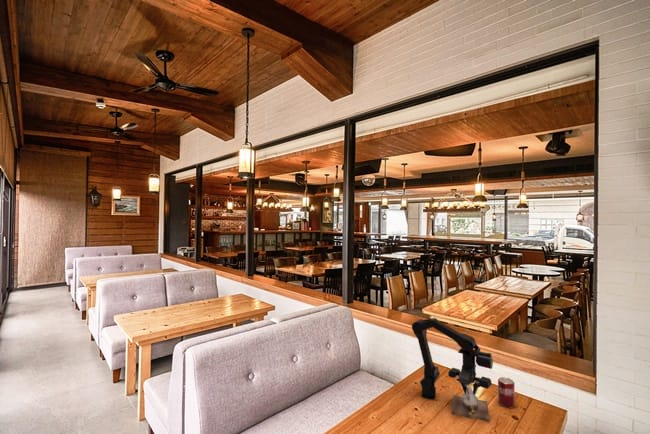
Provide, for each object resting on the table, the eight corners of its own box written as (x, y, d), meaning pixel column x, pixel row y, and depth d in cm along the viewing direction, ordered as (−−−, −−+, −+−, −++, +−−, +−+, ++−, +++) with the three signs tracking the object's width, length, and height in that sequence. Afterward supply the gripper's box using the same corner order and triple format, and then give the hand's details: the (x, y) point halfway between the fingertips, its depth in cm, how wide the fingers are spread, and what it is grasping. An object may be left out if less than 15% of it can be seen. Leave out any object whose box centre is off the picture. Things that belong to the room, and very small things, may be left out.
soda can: (517, 409, 156) (516, 384, 156) (501, 407, 157) (500, 383, 157) (511, 401, 163) (511, 377, 163) (496, 399, 164) (495, 376, 165)
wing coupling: (460, 399, 162) (460, 383, 162) (475, 400, 161) (474, 384, 161) (465, 412, 151) (464, 395, 151) (481, 414, 150) (480, 397, 150)
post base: (452, 414, 153) (452, 410, 153) (452, 397, 167) (452, 394, 167) (489, 421, 147) (489, 418, 147) (487, 404, 161) (487, 400, 161)
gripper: (443, 363, 157) (444, 394, 157) (484, 375, 145) (484, 409, 144) (452, 355, 166) (453, 386, 165) (491, 366, 153) (492, 399, 153)
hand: (469, 395), depth 157 cm, fingers closed on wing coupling, 4 cm apart
